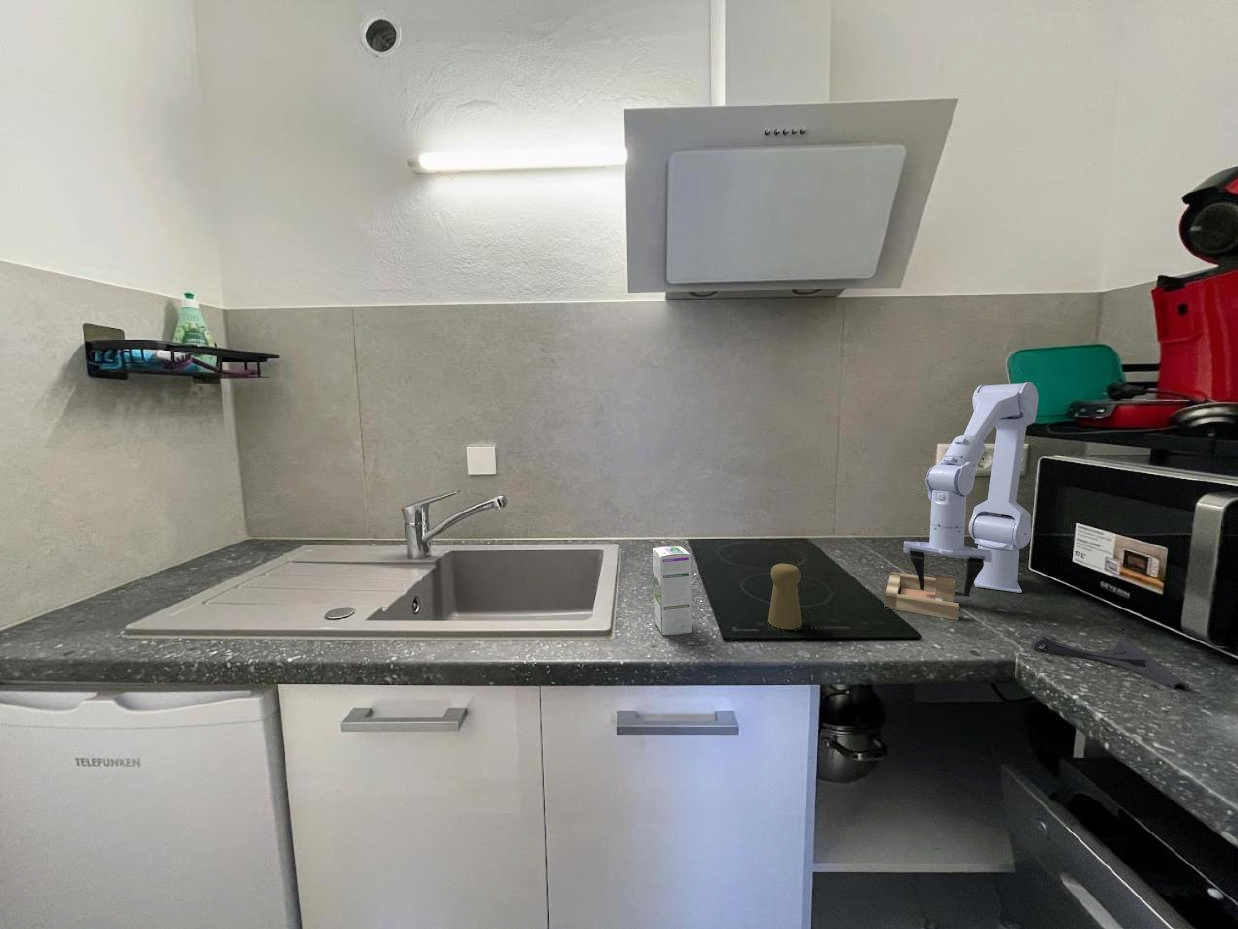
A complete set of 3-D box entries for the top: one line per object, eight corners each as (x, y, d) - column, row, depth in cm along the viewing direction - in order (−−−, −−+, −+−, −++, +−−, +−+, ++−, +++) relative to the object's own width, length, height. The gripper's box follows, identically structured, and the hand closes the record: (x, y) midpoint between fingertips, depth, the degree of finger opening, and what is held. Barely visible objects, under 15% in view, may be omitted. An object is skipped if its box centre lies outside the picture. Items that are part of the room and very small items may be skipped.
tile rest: (890, 582, 112) (890, 572, 112) (954, 592, 105) (954, 580, 105) (884, 607, 97) (884, 595, 97) (958, 620, 91) (958, 607, 91)
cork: (789, 615, 94) (790, 559, 93) (809, 628, 88) (810, 568, 87) (761, 619, 93) (762, 562, 92) (779, 632, 87) (780, 571, 86)
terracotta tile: (901, 594, 106) (901, 587, 106) (934, 599, 103) (934, 592, 103) (899, 603, 101) (900, 596, 101) (934, 608, 98) (935, 601, 98)
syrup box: (693, 633, 87) (693, 552, 86) (660, 636, 86) (660, 555, 85) (682, 620, 93) (682, 544, 91) (652, 623, 92) (651, 546, 90)
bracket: (1017, 635, 86) (1018, 619, 86) (1130, 649, 80) (1131, 633, 80) (1050, 675, 73) (1051, 657, 73) (1188, 696, 67) (1190, 677, 67)
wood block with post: (934, 594, 104) (935, 568, 104) (951, 596, 103) (953, 571, 102) (935, 610, 96) (936, 582, 96) (953, 613, 94) (955, 585, 94)
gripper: (904, 525, 98) (901, 591, 100) (995, 533, 91) (991, 604, 92) (905, 518, 104) (903, 581, 106) (991, 525, 97) (987, 593, 98)
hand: (943, 591), depth 99 cm, fingers open, 7 cm apart
